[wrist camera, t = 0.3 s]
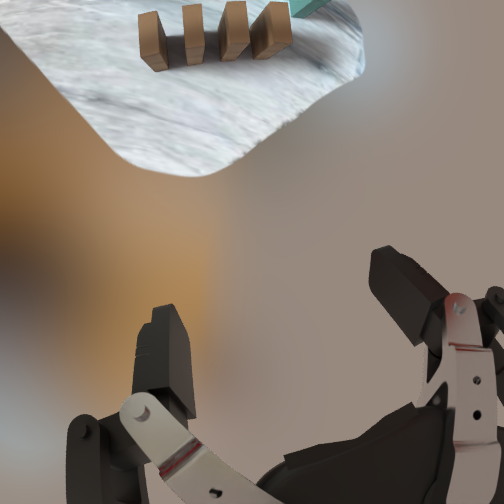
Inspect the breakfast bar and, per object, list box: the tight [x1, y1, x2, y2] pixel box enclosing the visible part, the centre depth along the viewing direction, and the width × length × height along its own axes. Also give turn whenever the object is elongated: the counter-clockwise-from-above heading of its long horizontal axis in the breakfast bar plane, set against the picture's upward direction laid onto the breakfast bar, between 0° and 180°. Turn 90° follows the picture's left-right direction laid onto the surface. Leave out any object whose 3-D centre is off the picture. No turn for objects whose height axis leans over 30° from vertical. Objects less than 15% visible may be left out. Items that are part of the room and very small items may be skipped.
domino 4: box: [250, 2, 293, 60], centre depth 23 cm, size 5×2×10 cm, turn 5°
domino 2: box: [182, 4, 205, 66], centre depth 22 cm, size 5×2×10 cm, turn 5°
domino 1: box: [138, 11, 169, 72], centre depth 21 cm, size 5×2×10 cm, turn 4°
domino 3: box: [218, 1, 250, 62], centre depth 22 cm, size 5×2×10 cm, turn 4°
